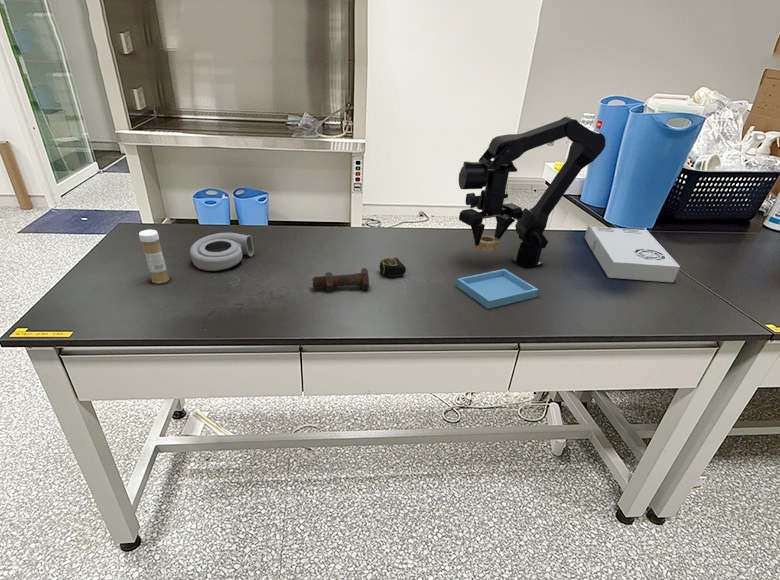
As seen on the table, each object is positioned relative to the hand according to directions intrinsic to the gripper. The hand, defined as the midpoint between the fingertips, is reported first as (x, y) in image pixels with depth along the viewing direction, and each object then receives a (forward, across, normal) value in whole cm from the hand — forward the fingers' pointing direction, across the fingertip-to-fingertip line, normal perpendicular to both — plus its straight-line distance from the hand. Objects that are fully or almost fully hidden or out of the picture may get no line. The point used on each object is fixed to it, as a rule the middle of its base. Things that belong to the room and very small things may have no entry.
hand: (486, 243), depth 147 cm
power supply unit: (+7, -46, +14) cm, 49 cm away
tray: (+7, +7, +16) cm, 19 cm away
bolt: (+7, +46, -3) cm, 47 cm away
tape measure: (+7, +28, -6) cm, 29 cm away
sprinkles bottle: (+7, +89, -27) cm, 93 cm away
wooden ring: (+1, 0, 0) cm, 1 cm away
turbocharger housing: (+7, +71, -34) cm, 79 cm away
